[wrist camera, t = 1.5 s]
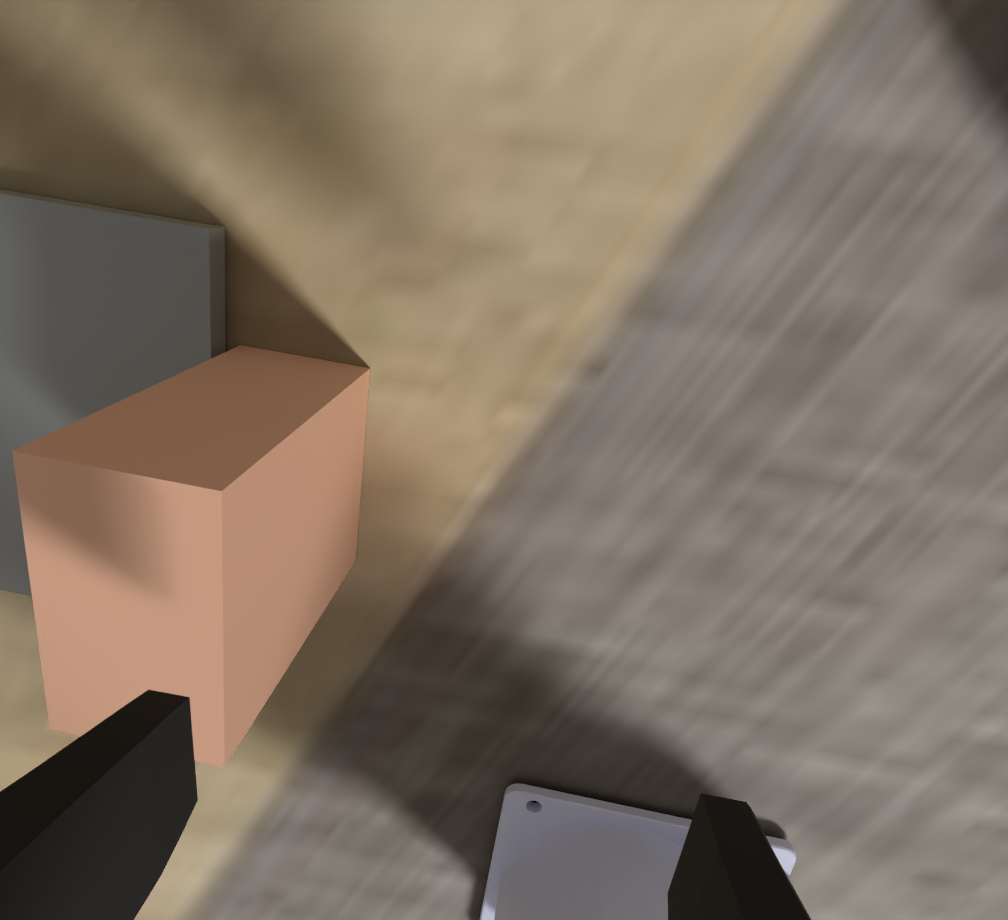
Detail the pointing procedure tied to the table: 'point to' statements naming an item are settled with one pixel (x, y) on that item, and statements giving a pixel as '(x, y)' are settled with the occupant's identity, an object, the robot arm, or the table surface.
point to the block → (193, 538)
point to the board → (93, 322)
